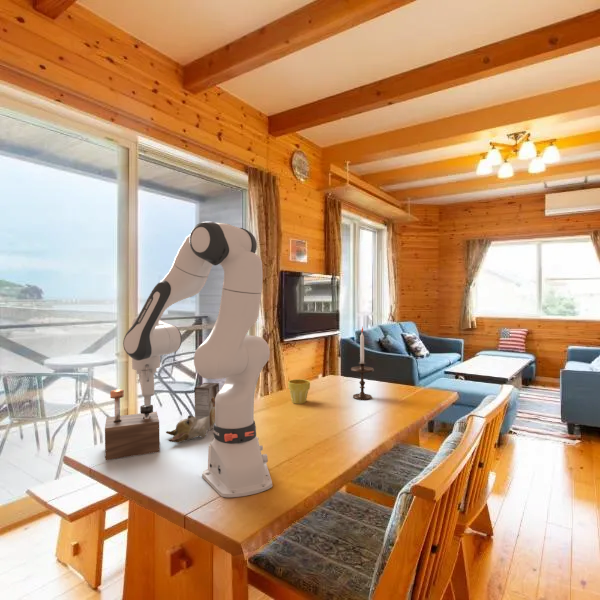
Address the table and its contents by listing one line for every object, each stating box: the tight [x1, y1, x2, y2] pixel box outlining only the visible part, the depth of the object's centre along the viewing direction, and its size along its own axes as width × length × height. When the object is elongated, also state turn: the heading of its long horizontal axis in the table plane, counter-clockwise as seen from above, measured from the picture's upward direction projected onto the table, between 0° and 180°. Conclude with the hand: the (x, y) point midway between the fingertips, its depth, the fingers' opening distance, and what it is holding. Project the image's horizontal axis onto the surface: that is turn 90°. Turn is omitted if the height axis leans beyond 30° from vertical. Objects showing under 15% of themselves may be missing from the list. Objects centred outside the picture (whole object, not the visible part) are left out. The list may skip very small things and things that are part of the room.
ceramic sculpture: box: [165, 415, 209, 443], centre depth 144 cm, size 11×9×15 cm
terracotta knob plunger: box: [109, 388, 125, 423], centre depth 132 cm, size 4×4×13 cm
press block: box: [104, 411, 161, 461], centre depth 134 cm, size 12×16×10 cm
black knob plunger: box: [139, 404, 154, 419], centre depth 136 cm, size 4×4×13 cm
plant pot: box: [287, 378, 311, 405], centre depth 191 cm, size 10×10×10 cm
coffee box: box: [193, 382, 220, 431], centre depth 157 cm, size 9×6×16 cm
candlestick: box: [350, 326, 375, 401], centre depth 197 cm, size 11×11×35 cm
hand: (147, 403), depth 136 cm, fingers closed
